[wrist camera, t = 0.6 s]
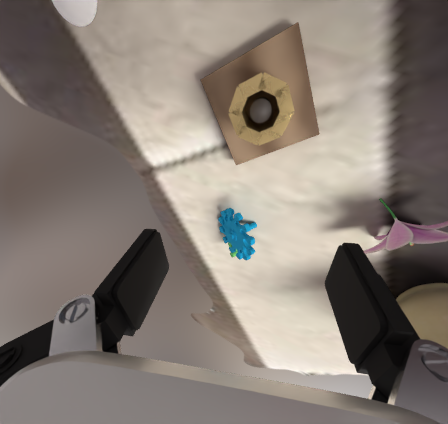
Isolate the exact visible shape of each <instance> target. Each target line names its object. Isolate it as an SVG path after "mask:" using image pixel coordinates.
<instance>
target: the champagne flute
mask: <svg viewBox="0 0 448 424" xmlns="http://www.w3.org/2000/svg"><path fill="white" fill-rule="evenodd" d="M52 2H53V4H54V6H55V7H56V9H57V10H58V12H59V13H60V14H61V15H62V16H63V18H64V19H66V20H67V21H68V22H69V23H71V24H73V25H75V26H78V27H84V26H87V25H89V24H90V23H91V22H92V21H93V20H94V17H95V15H96V11H97V0H52Z"/></svg>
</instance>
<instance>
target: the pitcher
mask: <svg viewBox="0 0 448 424" xmlns="http://www.w3.org/2000/svg"><path fill="white" fill-rule="evenodd" d="M396 301H397V302H398V304H399V306H400V307H401V309H402V310H403V312H404V314H405V315H406V317H407V318H408V320H409V321H410V323H411V325H412V326H413V328H414V329H415V331H416V332H417V334H418V336H419V337H420V339H427V340H430V341H434V342H436V343H438V344H440V345H442V346H444V347H446V348H447V349H448V283H430V284H424V285H419V286H416V287H413V288H410V289H408V290H406V291H405V292H403V293H402V294H400V295H399V296H398V297H397V299H396Z"/></svg>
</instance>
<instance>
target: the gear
mask: <svg viewBox="0 0 448 424" xmlns="http://www.w3.org/2000/svg"><path fill="white" fill-rule="evenodd" d="M233 214H234V210H233V209H232V208H229V209H226V210H224V211H221V215H222V216H221V217H219V219H218V221H219V222H220V223H221V224H222V226H220V227H219V229H220V232H221V233H224V234H225V235H226V236H225V237H223V240H224V243H228V242H229V243H228V245H229V250H230V251H231V253H230V255H231V257H234V256H237V258H238V259H242V258H243V259H244V260H248V259H250V258H251V256H250V255H252V254H254V253H255V250H254V249H253V248H252V247H251V245H253V244H254V243H255V239H254V237H252V236H249V235H247V234H246V232H248V231H250V230H251V229H253V228H255V227H257V224H256V223H255V222H254V223H252V224H248V223H246V224H244V225H240V224H239V221H240V220H242V219H243V217H242V215H241V214H240V213H237V214H235V215H234V219H233Z"/></svg>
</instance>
